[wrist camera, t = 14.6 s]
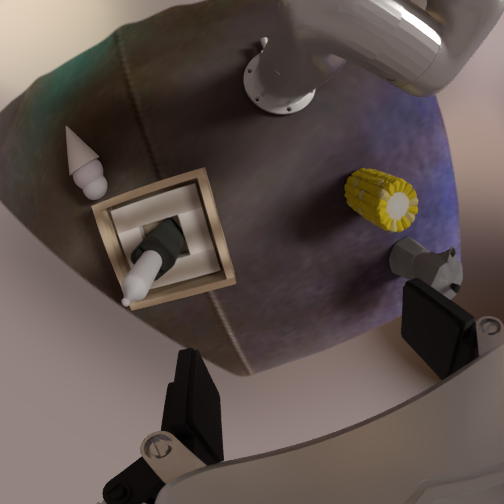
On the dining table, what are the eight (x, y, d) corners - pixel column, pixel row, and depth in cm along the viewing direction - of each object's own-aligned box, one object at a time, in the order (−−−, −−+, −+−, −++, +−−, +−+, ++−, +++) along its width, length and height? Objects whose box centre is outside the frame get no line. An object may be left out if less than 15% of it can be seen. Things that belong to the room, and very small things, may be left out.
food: (377, 170, 49) (368, 215, 53) (335, 160, 46) (327, 211, 49) (432, 184, 37) (421, 237, 40) (393, 171, 33) (380, 235, 36)
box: (105, 201, 44) (91, 206, 38) (205, 167, 44) (203, 167, 39) (139, 295, 50) (131, 310, 44) (233, 270, 51) (236, 283, 45)
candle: (167, 254, 48) (127, 336, 24) (148, 233, 46) (90, 299, 22) (188, 237, 47) (162, 308, 23) (169, 214, 45) (122, 267, 22)
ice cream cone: (77, 122, 38) (110, 190, 45) (49, 138, 35) (83, 208, 42) (84, 111, 34) (119, 186, 41) (52, 127, 31) (90, 206, 38)
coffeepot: (390, 228, 52) (449, 255, 35) (422, 226, 53) (479, 250, 36) (382, 295, 57) (429, 337, 40) (413, 289, 58) (461, 326, 41)
